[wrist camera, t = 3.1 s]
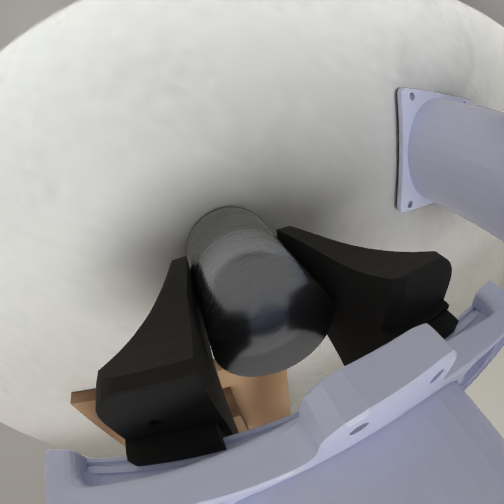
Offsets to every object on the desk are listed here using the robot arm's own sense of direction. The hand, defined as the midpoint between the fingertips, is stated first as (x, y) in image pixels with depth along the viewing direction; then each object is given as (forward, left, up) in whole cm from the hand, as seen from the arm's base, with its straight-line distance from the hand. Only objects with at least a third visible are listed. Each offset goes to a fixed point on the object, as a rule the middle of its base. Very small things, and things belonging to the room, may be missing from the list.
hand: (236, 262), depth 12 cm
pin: (0, 0, -1) cm, 1 cm away
